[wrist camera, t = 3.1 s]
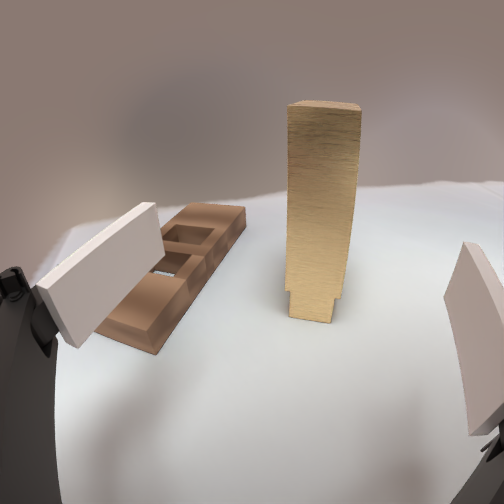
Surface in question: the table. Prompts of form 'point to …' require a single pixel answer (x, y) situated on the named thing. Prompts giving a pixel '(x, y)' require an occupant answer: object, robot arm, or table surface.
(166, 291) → the slotted wooden base
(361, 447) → the table surface
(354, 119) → the tall wooden block
